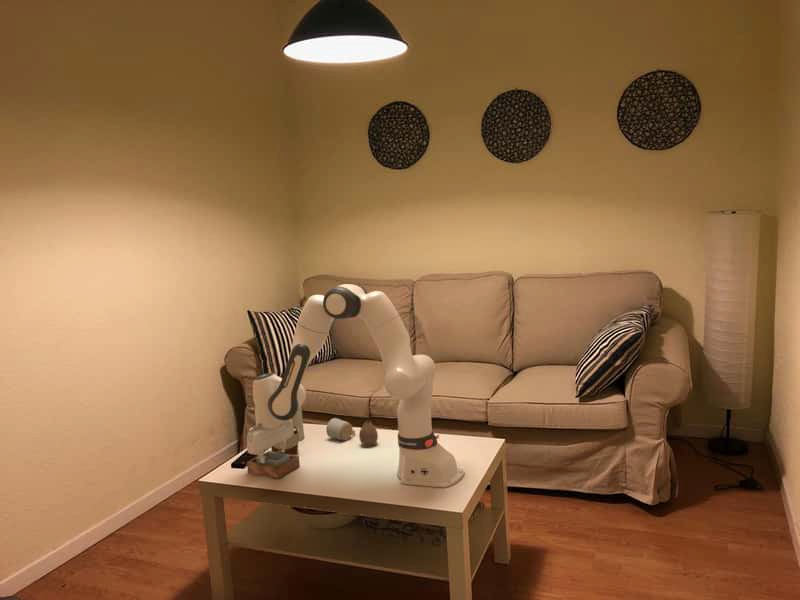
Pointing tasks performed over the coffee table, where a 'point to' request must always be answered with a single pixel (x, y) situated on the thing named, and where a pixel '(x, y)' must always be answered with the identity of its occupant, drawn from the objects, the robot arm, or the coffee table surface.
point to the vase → (368, 434)
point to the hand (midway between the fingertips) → (272, 457)
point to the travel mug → (299, 423)
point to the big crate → (271, 470)
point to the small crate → (274, 459)
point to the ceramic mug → (339, 429)
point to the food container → (290, 443)
